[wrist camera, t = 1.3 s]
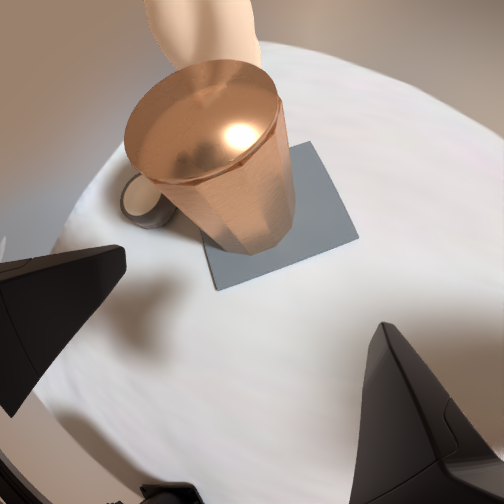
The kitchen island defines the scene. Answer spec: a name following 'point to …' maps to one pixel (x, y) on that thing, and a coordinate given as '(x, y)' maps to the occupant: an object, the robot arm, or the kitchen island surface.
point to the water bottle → (204, 30)
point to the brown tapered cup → (218, 152)
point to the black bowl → (145, 203)
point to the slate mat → (302, 232)
